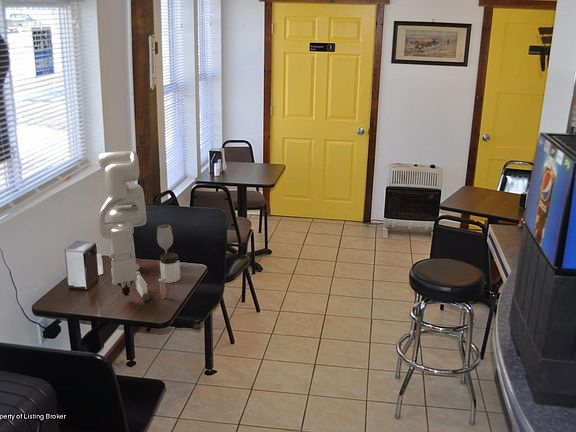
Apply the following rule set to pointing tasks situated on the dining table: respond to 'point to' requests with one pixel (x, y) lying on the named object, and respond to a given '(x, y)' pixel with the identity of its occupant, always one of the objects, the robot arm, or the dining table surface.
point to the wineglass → (164, 236)
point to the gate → (142, 287)
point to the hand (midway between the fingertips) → (126, 294)
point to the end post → (162, 288)
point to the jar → (170, 267)
